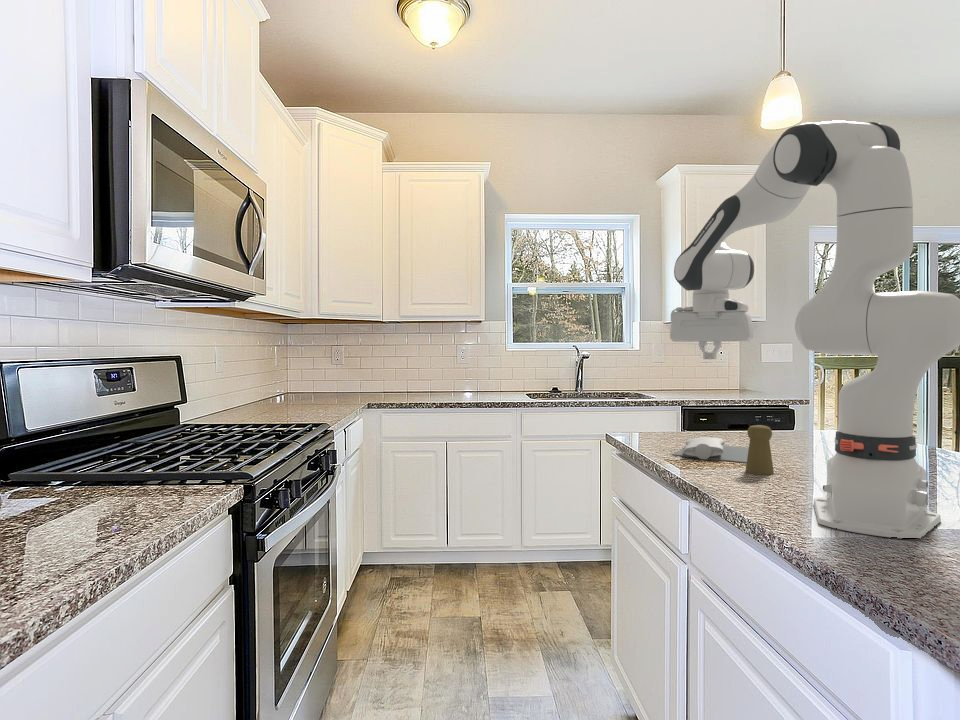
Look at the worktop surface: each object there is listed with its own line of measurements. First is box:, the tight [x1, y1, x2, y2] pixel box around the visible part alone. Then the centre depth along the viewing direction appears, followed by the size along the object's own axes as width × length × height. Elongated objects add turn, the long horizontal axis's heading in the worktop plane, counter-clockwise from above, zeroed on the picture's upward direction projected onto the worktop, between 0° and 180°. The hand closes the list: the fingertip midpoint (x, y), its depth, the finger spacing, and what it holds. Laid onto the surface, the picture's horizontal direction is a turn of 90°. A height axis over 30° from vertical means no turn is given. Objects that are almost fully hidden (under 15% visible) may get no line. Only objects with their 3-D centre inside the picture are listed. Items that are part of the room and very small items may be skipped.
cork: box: [745, 424, 775, 476], centre depth 140 cm, size 6×6×11 cm
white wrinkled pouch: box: [683, 436, 726, 460], centre depth 166 cm, size 11×4×22 cm
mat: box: [671, 444, 749, 464], centre depth 164 cm, size 22×20×1 cm
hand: (709, 359), depth 155 cm, fingers closed
